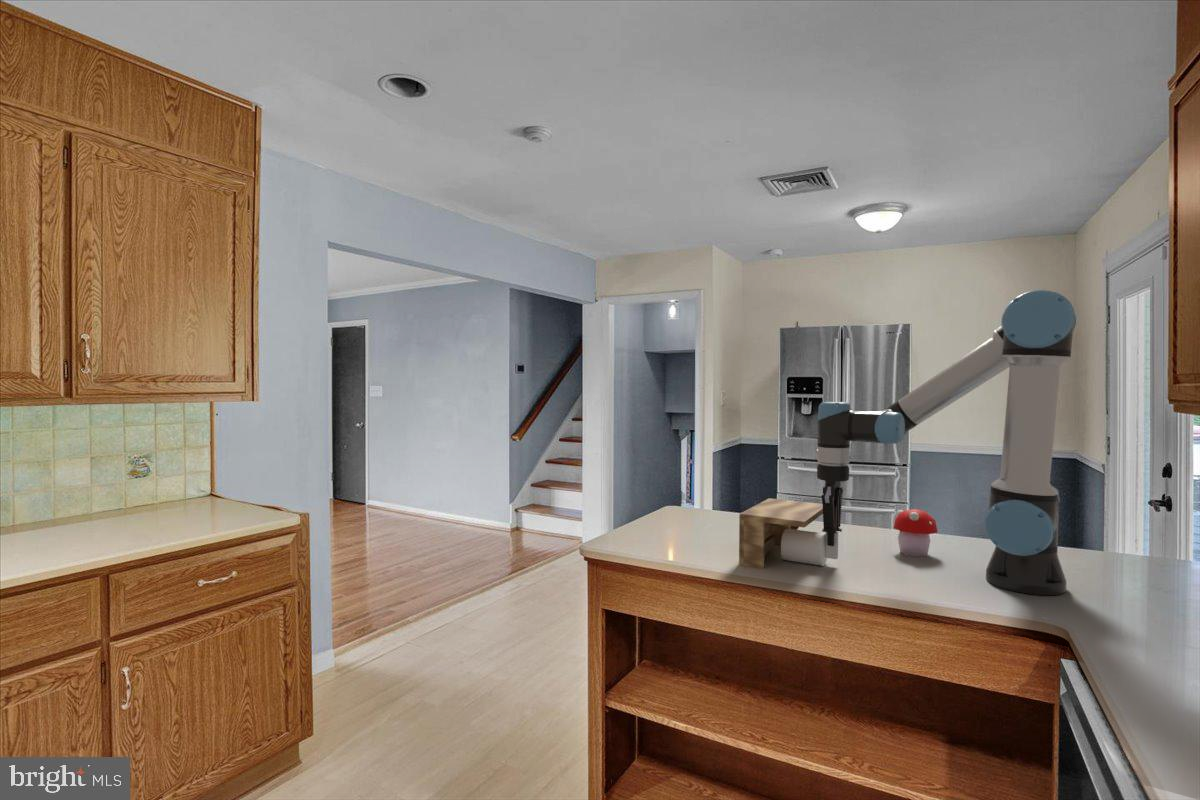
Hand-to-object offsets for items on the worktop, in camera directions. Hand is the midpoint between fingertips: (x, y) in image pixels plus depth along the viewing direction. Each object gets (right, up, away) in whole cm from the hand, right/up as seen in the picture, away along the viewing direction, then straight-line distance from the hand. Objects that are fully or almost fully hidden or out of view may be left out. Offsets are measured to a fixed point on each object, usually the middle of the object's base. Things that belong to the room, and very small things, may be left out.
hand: (831, 557), depth 156 cm
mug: (-5, -2, +5) cm, 7 cm away
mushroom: (+27, -2, +12) cm, 29 cm away
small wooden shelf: (-10, -2, +6) cm, 12 cm away
